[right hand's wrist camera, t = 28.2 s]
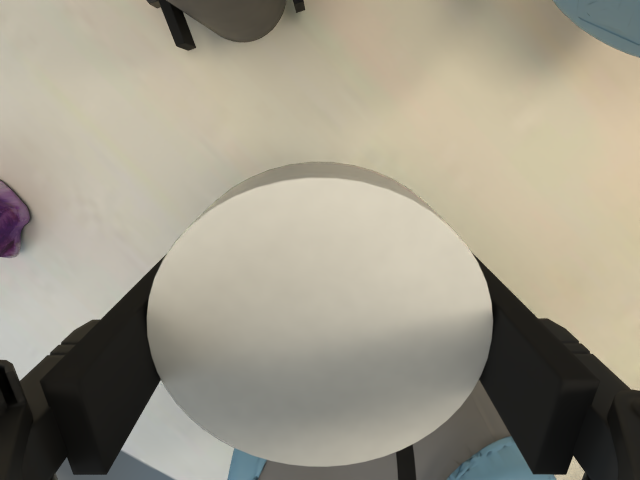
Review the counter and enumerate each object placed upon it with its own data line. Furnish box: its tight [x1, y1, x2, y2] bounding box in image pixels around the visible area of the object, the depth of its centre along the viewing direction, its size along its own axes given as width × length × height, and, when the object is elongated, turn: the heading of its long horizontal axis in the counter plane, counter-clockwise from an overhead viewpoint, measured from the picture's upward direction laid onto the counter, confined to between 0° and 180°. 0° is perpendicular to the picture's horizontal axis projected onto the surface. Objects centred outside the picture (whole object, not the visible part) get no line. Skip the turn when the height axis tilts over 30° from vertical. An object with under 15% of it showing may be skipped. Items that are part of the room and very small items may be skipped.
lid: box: [147, 162, 493, 467], centre depth 11 cm, size 10×10×2 cm
